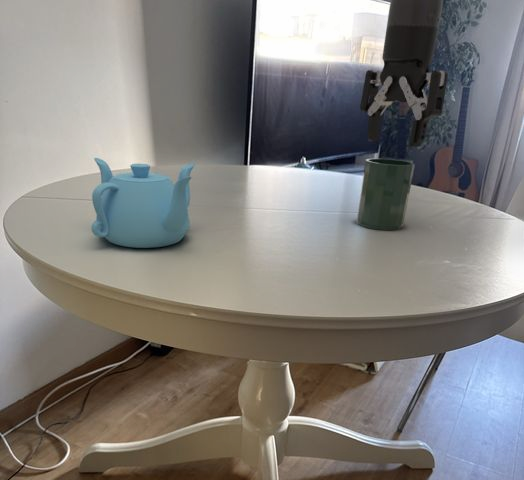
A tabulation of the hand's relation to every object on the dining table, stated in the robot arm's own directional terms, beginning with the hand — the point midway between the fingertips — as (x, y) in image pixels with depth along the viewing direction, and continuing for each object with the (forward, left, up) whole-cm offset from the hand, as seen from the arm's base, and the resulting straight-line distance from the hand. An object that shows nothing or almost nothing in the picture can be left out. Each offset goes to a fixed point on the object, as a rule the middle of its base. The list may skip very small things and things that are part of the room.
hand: (393, 143), depth 79 cm
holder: (0, 0, -13) cm, 13 cm away
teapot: (+39, -11, -13) cm, 43 cm away
